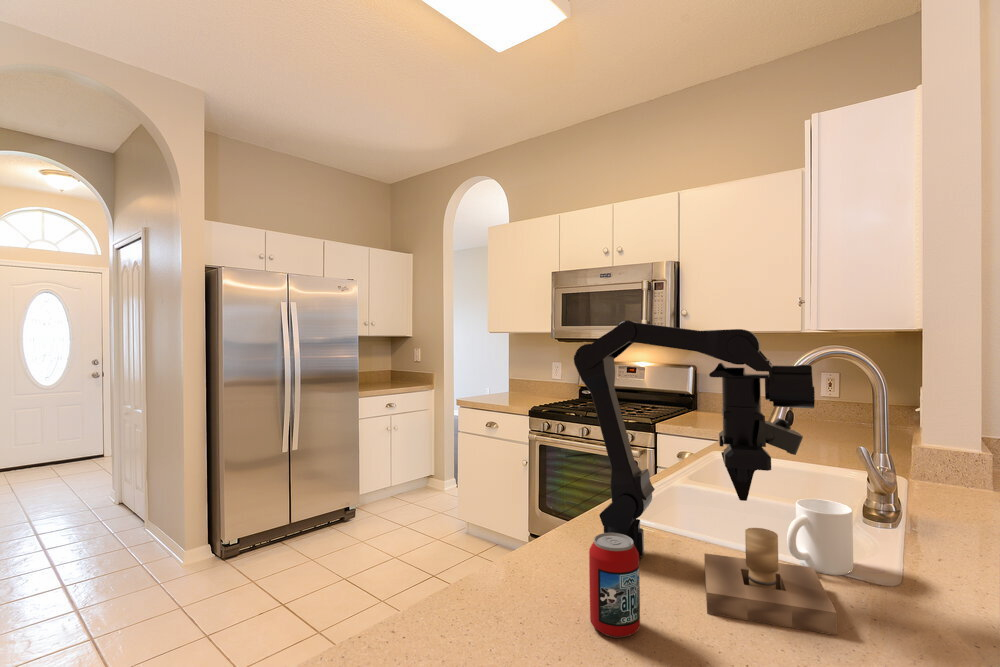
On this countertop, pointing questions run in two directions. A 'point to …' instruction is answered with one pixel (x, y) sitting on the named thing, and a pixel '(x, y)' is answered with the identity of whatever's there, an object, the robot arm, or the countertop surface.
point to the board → (769, 595)
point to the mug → (822, 536)
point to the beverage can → (614, 585)
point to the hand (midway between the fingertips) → (743, 500)
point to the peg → (761, 557)
